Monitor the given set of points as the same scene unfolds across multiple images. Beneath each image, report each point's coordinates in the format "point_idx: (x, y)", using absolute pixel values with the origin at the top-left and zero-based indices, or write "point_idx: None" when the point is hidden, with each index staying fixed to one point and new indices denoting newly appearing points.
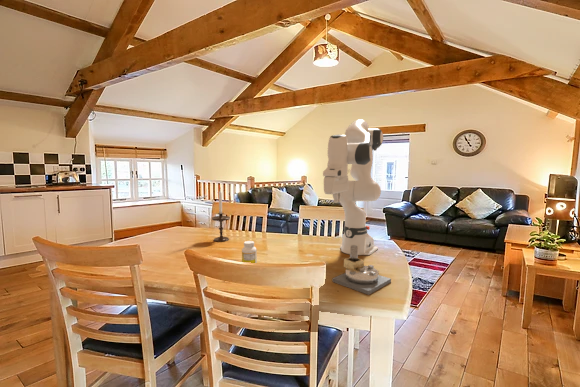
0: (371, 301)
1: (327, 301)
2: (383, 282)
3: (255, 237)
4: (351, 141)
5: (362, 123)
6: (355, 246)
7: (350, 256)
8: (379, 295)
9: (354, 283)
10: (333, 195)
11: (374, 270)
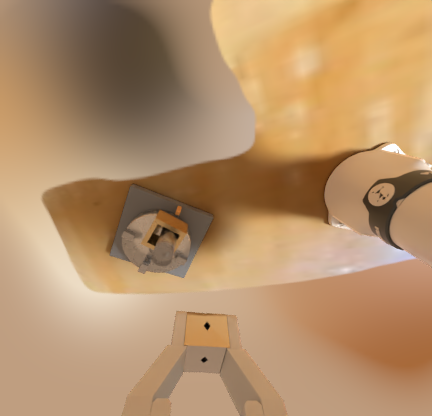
0: (91, 257)
1: (42, 197)
2: None
3: None
4: None
5: None
6: (162, 261)
7: (161, 235)
8: (120, 264)
9: None
10: (130, 400)
11: (170, 265)
